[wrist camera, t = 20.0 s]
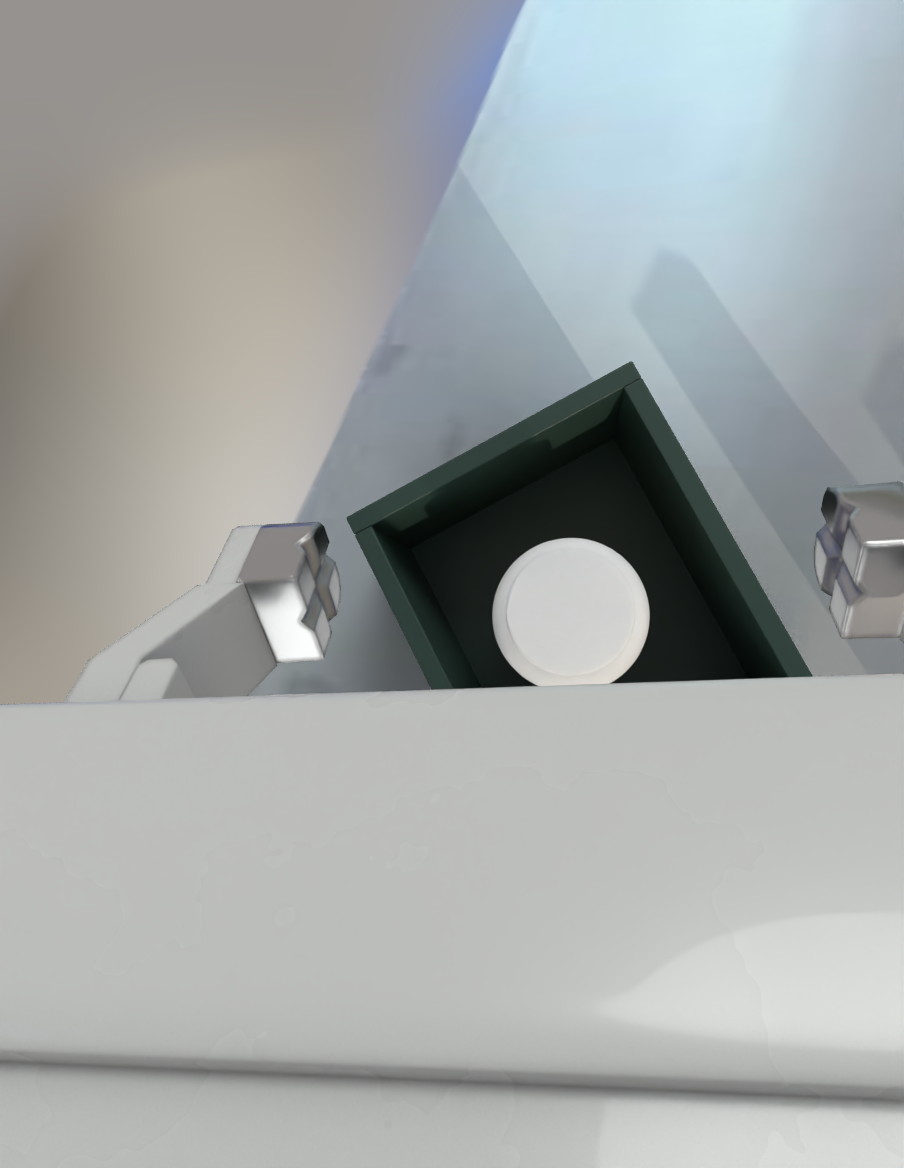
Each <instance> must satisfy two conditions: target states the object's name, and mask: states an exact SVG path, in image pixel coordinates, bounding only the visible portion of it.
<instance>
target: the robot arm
mask: <svg viewBox="0 0 904 1168" xmlns="http://www.w3.org/2000/svg"><path fill="white" fill-rule="evenodd" d="M821 511H822V513H823V516H824V518H825V520H826V522H827V523H826V524H825V525H824V526H823V527H822V528H821V529H820V530H819V531H818V532H817V534H816V540H815V547H814V567H815V572H816V577H817V580H818V583H819V585H820V588H821V590H822V591H824V592H825V593H827V594H828V595H830V596H832V597H831V602H830V607H829V610H830V613H831V615H832V618H833V620H834V622H835V625H836V627H837V629H838V632H839V634H840V637H841V639H852V638H901V639H900V640H901V641H902V642H903V643H904V481H897V482H890V483H878V484H866V485H854V486H842V487H829V488H827V490H826V492H825V494H824V497H823V502H822V507H821ZM328 544H329V540H328V537H327V534H326V531H325V528H324V526H323V525H322V524H321V523H319V522H310V523H290V524H269V525H252V526H238V527H236V528H235V529H233V530H232V531H231V533H230V535H229V538H228V539H227V541H226V543H225V545H224V548H223V549H222V552H221V554H220V556H219V558H218V560H217V562H216V564H215V566H214V568H213V570H212V572H211V574H210V576H209V578H208V580H207V582H206V584H205V585H197V586H195V587H194V588H192V589H191V590H190V591H188V592H187V593H186V594H184V595H182V596H181V597H179V598H178V599H177V600H175V601H174V602H172V603H171V604H169V605H168V606H166V607H165V608H163V609H162V610H161V611H159V612H158V613H156V614H155V615H153V616H152V617H151V618H149V619H147V620H146V621H144V622H143V623H142V624H140V625H139V626H137V627H136V628H134V629H133V630H131V631H130V632H129V633H127V634H126V635H124V636H123V637H121V638H120V639H118V640H117V641H116V642H114V643H113V644H111V645H110V646H108V647H107V648H105V649H104V650H102V651H101V652H100V653H98V654H97V655H95V656H94V657H92V658H91V659H89V660H88V662H87V663H86V665H85V667H84V668H83V670H82V672H81V673H80V675H79V677H78V678H77V680H76V682H75V684H74V685H73V687H72V689H71V690H70V692H69V694H68V695H67V697H66V699H65V701H64V702H61V703H60V702H59V703H31V704H1V705H0V1168H904V673H902V674H873V675H844V676H815V677H786V678H758V679H729V680H700V681H671V682H642V683H613V684H583V685H554V686H525V687H496V688H467V689H437V690H408V691H379V692H350V693H320V694H291V695H262V696H248V695H249V694H250V693H251V692H252V691H253V690H254V689H255V688H256V687H257V686H258V685H259V684H260V683H261V682H262V680H263V679H264V678H265V677H266V676H267V675H268V674H269V673H270V672H271V671H272V670H273V669H274V668H275V667H276V666H277V664H276V663H286V662H301V661H315V660H324V658H325V654H326V651H327V647H328V644H329V641H330V637H331V634H332V631H331V628H330V625H329V621H330V620H331V619H332V618H333V617H334V616H336V615H337V612H338V608H339V604H340V590H341V586H340V579H339V573H338V569H337V566H336V562H335V561H333V560H332V559H331V558H330V557H328V556H327V555H326V550H327V547H328Z"/></svg>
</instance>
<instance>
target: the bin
mask: <svg viewBox="0 0 904 1168" xmlns="http://www.w3.org/2000/svg"><path fill="white" fill-rule="evenodd" d="M347 521H348V523H349V525H350V527H351V529H352V531H353V533H354V534H356V535H355V536H356V539H357V541H358V543H359V545H360V547H361V549H362V551H363V553H364V555H365V557H366V559H367V561H368V563H369V565H370V567H371V569H372V571H373V573H374V575H375V577H376V579H377V581H378V583H379V585H380V587H381V589H382V591H383V593H384V595H385V597H386V599H387V601H388V603H389V605H390V607H391V609H392V611H393V613H394V615H395V617H396V619H397V621H398V623H399V625H400V627H401V629H402V631H403V633H404V635H405V637H406V639H407V641H408V643H409V645H410V647H411V649H412V651H413V653H414V655H415V657H416V659H417V661H418V663H419V665H420V667H421V669H422V671H423V673H424V675H425V677H426V679H427V681H428V683H429V685H430V687H431V689H432V690H437V689H467V688H496V687H525V686H537V685H535V684H533V683H531V682H530V681H528V680H527V679H525V678H524V677H522V676H521V675H520V674H519V673H518V672H517V671H516V670H515V669H514V668H513V667H512V666H511V665H510V664H509V662H508V661H507V660H506V658H505V657H504V655H503V654H502V652H501V650H500V648H499V646H498V643H497V641H496V637H495V634H494V629H493V620H492V611H493V602H494V597H495V594H496V591H497V588H498V586H499V583H500V581H501V579H502V578H503V576H504V574H505V573H506V571H507V570H508V569H509V567H510V566H511V565H512V564H513V563H514V562H515V561H516V560H517V559H518V558H519V557H520V556H521V555H523V554H524V553H525V552H527V551H528V550H530V549H532V548H533V547H535V546H537V545H539V544H542V543H544V542H548V541H551V540H556V539H562V538H581V539H588V540H591V541H595V542H598V543H600V544H603V545H605V546H607V547H609V548H611V549H613V550H614V551H615V552H617V553H618V554H620V555H621V556H622V557H623V558H624V559H625V560H626V561H627V562H628V563H629V564H630V565H631V566H632V567H633V569H634V570H635V571H636V573H637V574H638V576H639V578H640V579H641V581H642V583H643V586H644V588H645V591H646V595H647V598H648V603H649V610H650V620H649V629H648V634H647V638H646V641H645V643H644V646H643V648H642V650H641V652H640V654H639V656H638V657H637V659H636V661H635V662H634V663H633V664H632V666H631V667H630V668H629V669H628V670H627V671H626V672H625V673H624V674H623V675H622V676H620V677H619V678H618V679H616V680H615V681H613V682H611V683H610V684H613V683H642V682H671V681H700V680H729V679H758V678H786V677H813V676H812V674H811V672H810V671H809V669H808V667H807V665H806V664H805V662H804V660H803V658H802V657H801V655H800V653H799V652H798V650H797V648H796V646H795V645H794V643H793V641H792V639H791V638H790V636H789V634H788V632H787V631H786V629H785V627H784V625H783V624H782V622H781V620H780V618H779V617H778V615H777V613H776V611H775V610H774V608H773V606H772V604H771V603H770V601H769V599H768V597H767V596H766V594H765V592H764V590H763V589H762V587H761V585H760V583H759V582H758V580H757V578H756V576H755V575H754V573H753V571H752V569H751V568H750V566H749V564H748V563H747V561H746V559H745V557H744V556H743V554H742V552H741V550H740V549H739V547H738V545H737V543H736V542H735V540H734V538H733V536H732V535H731V533H730V531H729V529H728V528H727V526H726V524H725V522H724V521H723V519H722V517H721V515H720V514H719V512H718V510H717V508H716V507H715V505H714V503H713V501H712V500H711V498H710V496H709V494H708V493H707V491H706V489H705V487H704V486H703V484H702V482H701V480H700V479H699V477H698V475H697V473H696V472H695V470H694V468H693V467H692V465H691V463H690V461H689V460H688V458H687V456H686V454H685V453H684V451H683V449H682V447H681V446H680V444H679V442H678V440H677V439H676V437H675V435H674V433H673V432H672V430H671V428H670V426H669V425H668V423H667V421H666V419H665V418H664V416H663V414H662V412H661V411H660V409H659V407H658V405H657V404H656V402H655V400H654V398H653V397H652V395H651V393H650V391H649V390H648V388H647V386H646V384H645V383H644V381H643V379H642V378H641V376H640V374H639V372H638V371H637V369H636V367H635V365H634V364H633V362H629V363H627V364H625V365H623V366H621V367H620V368H618V369H616V370H614V371H612V372H611V373H609V374H607V375H605V376H603V377H601V378H600V379H598V380H596V381H594V382H592V383H590V384H589V385H587V386H585V387H583V388H581V389H580V390H578V391H576V392H574V393H572V394H570V395H569V396H567V397H565V398H563V399H561V400H560V401H558V402H556V403H554V404H552V405H550V406H549V407H547V408H545V409H543V410H541V411H539V412H538V413H536V414H534V415H532V416H530V417H529V418H527V419H525V420H523V421H521V422H519V423H518V424H516V425H514V426H512V427H510V428H509V429H507V430H505V431H503V432H501V433H499V434H498V435H496V436H494V437H492V438H490V439H488V440H487V441H485V442H483V443H481V444H479V445H478V446H476V447H474V448H472V449H470V450H468V451H467V452H465V453H463V454H461V455H459V456H458V457H456V458H454V459H452V460H450V461H448V462H447V463H445V464H443V465H441V466H439V467H437V468H436V469H434V470H432V471H430V472H428V473H427V474H425V475H423V476H421V477H419V478H417V479H416V480H414V481H412V482H410V483H408V484H407V485H405V486H403V487H401V488H399V489H397V490H396V491H394V492H392V493H390V494H388V495H386V496H385V497H383V498H381V499H379V500H377V501H376V502H374V503H372V504H370V505H368V506H366V507H365V508H363V509H361V510H359V511H357V512H356V513H354V514H352V515H350V516H348V517H347Z"/></svg>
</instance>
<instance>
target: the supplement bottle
mask: <svg viewBox="0 0 904 1168" xmlns="http://www.w3.org/2000/svg"><path fill="white" fill-rule="evenodd" d="M492 620H493V629H494V634H495V637H496V641H497V643H498V646H499V648H500V650H501V652H502V654H503V655H504V657H505V658H506V660H507V661H508V662H509V664H510V665H511V666H512V667H513V668H514V669H515V670H516V671H517V672H518V673H519V674H520V675H521V676H522V677H524V678H525V679H527V680H528V681H530V682H531V683H533V684H535V685H537V686H554V685H583V684H610V683H611V682H613V681H615V680H616V679H618V678H619V677H620V676H622V675H623V674H624V673H625V672H626V671H627V670H628V669H629V668H630V667H631V666H632V664H633V663H634V662H635V661H636V659H637V657H638V656H639V654H640V652H641V650H642V648H643V646H644V643H645V641H646V638H647V634H648V629H649V620H650V610H649V603H648V598H647V595H646V591H645V588H644V586H643V583H642V581H641V579H640V578H639V576H638V574H637V573H636V571H635V570H634V569H633V567H632V566H631V565H630V564H629V563H628V562H627V561H626V560H625V559H624V558H623V557H622V556H621V555H620V554H618V553H617V552H615V551H614V550H613V549H611V548H609V547H607V546H605V545H603V544H600V543H598V542H595V541H591V540H588V539H581V538H562V539H556V540H551V541H548V542H544V543H542V544H539V545H537V546H535V547H533V548H532V549H530V550H528V551H527V552H525V553H524V554H523V555H521V556H520V557H519V558H518V559H517V560H516V561H515V562H514V563H513V564H512V565H511V566H510V567H509V569H508V570H507V571H506V573H505V574H504V576H503V578H502V579H501V581H500V583H499V586H498V588H497V591H496V594H495V597H494V602H493V611H492Z"/></svg>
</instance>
